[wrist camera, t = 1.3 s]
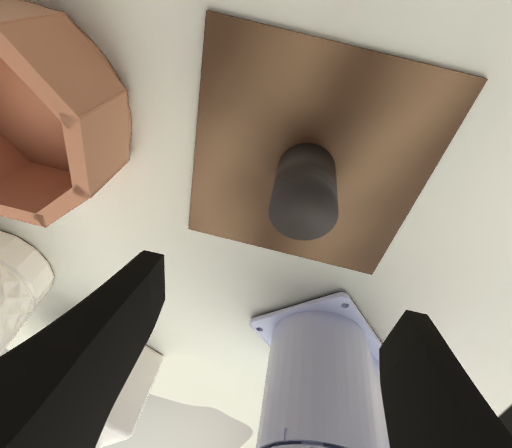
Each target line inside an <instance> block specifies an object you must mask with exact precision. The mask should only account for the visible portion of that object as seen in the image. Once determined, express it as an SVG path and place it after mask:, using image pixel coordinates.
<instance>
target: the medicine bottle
mask: <svg viewBox="0 0 512 448" xmlns="http://www.w3.org/2000/svg"><path fill="white" fill-rule="evenodd" d="M162 361H163V356H162V355H161V354H159V353H157V352H156V351H154V350H153V349H151V348H149V347H148V346H146V345H145V347H144V349H143V351H142V352H141V354H140V356H139V358H138V360H137V362H136V364H135V366H134V368H133V369H132V371H131V373H130V375H129V377H128V379H127V381H126V383H125V385H124V387H123V388H122V390H121V392H120V394H119V396H118V398H117V400H116V402H115V404H114V406H113V408H112V410H111V412H110V414H109V416H108V418H107V421H106V423H105V425H104V428H103V430H102V433H101V435H100V437H99V440H98V442H97V444H96V447H95V448H101V447H104V446H107V445H110V444H113V443H116V442H119V441H122V440H125V439H128V438H130V437H131V436H132V434H133V431H134V429H135V426H136V424H137V422H138V419H139V417H140V414H141V412H142V410H143V407H144V405H145V402H146V400H147V397H148V395H149V393H150V390H151V388H152V385H153V383H154V381H155V378H156V376H157V373H158V371H159V368H160V366H161V364H162Z"/></svg>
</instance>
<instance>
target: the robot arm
mask: <svg viewBox="0 0 512 448" xmlns="http://www.w3.org/2000/svg"><path fill="white" fill-rule="evenodd" d="M164 301H165V274H164V255H163V254H158V253H154V252H149V251H145V250H144V251H142V252H140V253H139V254H138V255H137V256H136V257H135V258H134V259H132V260H131V261H130V262H129V263H128V264H127V265H125V266H124V267H123V268H122V269H121V270H119V271H118V272H117V273H116V274H115V275H114V276H112V277H111V278H110V279H109V280H107V281H106V282H105V283H104V284H103V285H101V286H100V287H99V288H97V289H96V290H95V291H94V292H92V293H91V294H90V295H89V296H87V297H86V298H85V299H84V300H82V301H81V302H80V303H78V304H77V305H76V306H74V307H73V308H72V309H70V310H69V311H67V312H66V313H65V314H63V315H62V316H60V317H59V318H58V319H56V320H55V321H54V322H52V323H51V324H49V325H48V326H47V327H45V328H44V329H42V330H41V331H39V332H38V333H36V334H35V335H33V336H32V337H30V338H29V339H27V340H26V341H24V342H23V343H21V344H19V345H18V346H16V347H15V348H13V349H12V350H10V351H9V352H7V353H5V354H4V355H2V356H0V448H95V447H96V444H97V442H98V440H99V437H100V435H101V433H102V430H103V428H104V425H105V423H106V421H107V418H108V416H109V414H110V412H111V410H112V408H113V406H114V404H115V402H116V400H117V398H118V396H119V394H120V392H121V390H122V388H123V387H124V385H125V383H126V381H127V379H128V377H129V375H130V373H131V371H132V369H133V368H134V366H135V364H136V362H137V360H138V358H139V356H140V354H141V352H142V351H143V349H144V347H145V345H146V343H147V341H148V339H149V337H150V335H151V333H152V331H153V329H154V327H155V324H156V322H157V319H158V317H159V314H160V311H161V309H162V306H163V303H164ZM343 303H347V304H343ZM250 326H251V327H252V328H253V330H254V331H255V332H256V333H257V334H258V335H259V336H260V337H261V338H262V339H263V340H264V341H265V342H266V343H267V344H268V345H269V346H270V352H269V359H268V367H267V374H266V381H265V388H264V395H263V402H262V409H261V416H260V423H259V430H258V437H257V445H256V448H512V435H511V434H510V433H509V431H508V430H507V429H506V427H505V426H504V425H503V424H502V422H501V421H500V419H499V418H498V417H497V416H496V414H495V413H494V411H493V410H492V409H491V407H490V406H489V404H488V403H487V402H486V400H485V399H484V398H483V396H482V395H481V393H480V392H479V390H478V389H477V388H476V386H475V385H474V383H473V382H472V380H471V379H470V378H469V376H468V375H467V373H466V372H465V370H464V369H463V367H462V366H461V364H460V363H459V361H458V360H457V358H456V357H455V355H454V354H453V352H452V351H451V349H450V348H449V346H448V345H447V343H446V342H445V340H444V339H443V337H442V336H441V334H440V333H439V331H438V330H437V328H436V327H435V325H434V324H433V322H432V321H431V319H430V318H429V316H428V315H427V314H422V313H418V312H413V311H409V310H406V311H405V312H404V314H403V315H402V316H401V318H400V319H399V321H398V322H397V324H396V325H395V327H394V328H393V329H392V331H391V332H390V334H389V335H388V337H387V338H386V340H385V341H384V342H383V344H382V343H381V342H380V340H379V339H378V337H377V336H376V334H375V333H374V331H373V330H372V329H371V327H370V326H369V324H368V323H367V321H366V320H365V318H364V317H363V316H362V314H361V313H360V311H359V310H358V308H357V307H356V305H355V304H354V302H353V301H352V300H351V298H350V297H349V295H348V294H347V293H344V292H338V293H335V294H332V295H328V296H325V297H322V298H318V299H315V300H311V301H308V302H305V303H301V304H298V305H295V306H291V307H288V308H285V309H281V310H278V311H274V312H271V313H268V314H264V315H261V316H258V317H254V318H252V319H251V320H250Z"/></svg>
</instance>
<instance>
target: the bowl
mask: <svg viewBox="0 0 512 448" xmlns="http://www.w3.org/2000/svg"><path fill="white" fill-rule="evenodd" d="M131 135H132V121H131V112H130V108H129V104H128V100H127V89H125V87H124V86H123V85H122V84H121V82H120V80H119V78H118V76H117V74H116V72H115V71H114V69H113V67H112V66H111V64H110V63H109V61H108V60H107V58H106V57H105V56H104V54H103V53H102V52H101V50H100V49H99V48H98V47H97V46H96V45H95V44H94V42H93V41H92V40H91V39H90V38H89V37H88V36H87V35H85V34H84V33H83V32H82V31H81V30H80V29H79V28H78V27H76V26H75V25H74V24H73V23H72V22H71V20H70V19H69V18H68V17H67V15H66V14H65V13H64V12H60V11H56V10H52V9H48V8H46V7H43V6H41V5H38V4H35V3H32V2H29V1H23V0H0V216H3V217H7V218H11V219H14V220H18V221H22V222H26V223H30V224H34V225H38V226H42V227H46V228H47V227H48V226H49V225H50V224H51V223H53V222H54V221H56V220H57V219H59V218H60V217H62V216H63V215H65V214H67V213H68V212H70V211H71V210H73V209H74V208H76V207H77V206H79V205H80V204H82V203H83V202H85V201H86V200H88V199H89V198H91V197H92V196H94V195H95V194H96V193H97V192H98V191H99V190H100V189H101V188H102V187H103V186H104V185H105V184H106V183H107V182H108V181H109V180H110V179H111V178H112V177H113V176H114V175H115V174H116V173H117V172H118V171H119V170H120V169H121V168H122V167H123V166H124V165H125V164H126V163H127V162H128V161H129V160H130V153H129V145H130V140H131Z"/></svg>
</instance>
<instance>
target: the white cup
mask: <svg viewBox="0 0 512 448" xmlns="http://www.w3.org/2000/svg"><path fill="white" fill-rule="evenodd" d="M53 279H54V275H53V272H52V270H51V267H50V265H49V263H48V262H47V260H46V259H45V258H44V257H43V256H42V255H41V254H40V253H39V252H38V251H37V250H36V249H35V248H34V247H32V246H31V245H29V244H28V243H26V242H25V241H23V240H22V239H20V238H18V237H17V236H14V235H11V234H8V233H5V232H2V231H0V355H1V354H2V352H3V351H4V350H5V349H6V347H7V346H8V345H9V343H10V342H11V341H12V339H13V338H14V337H15V335H16V334H17V332H18V331H19V329H20V328H21V327H22V326H23V325H24V323H25V322H26V321H27V319H28V318H29V316H30V315H31V313H32V312H33V310H34V308H35V307H36V306H37V304H38V303H39V302H40V301H41V299H42V298H43V297H44V296H45V294H46V293H47V292H48V290H49V289H50V288H51V285H52V282H53Z"/></svg>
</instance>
